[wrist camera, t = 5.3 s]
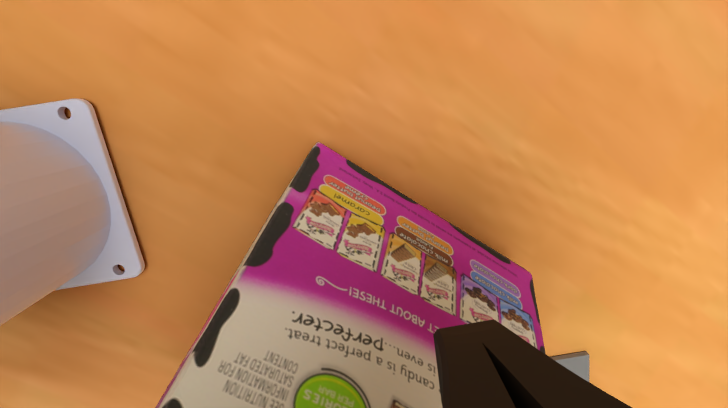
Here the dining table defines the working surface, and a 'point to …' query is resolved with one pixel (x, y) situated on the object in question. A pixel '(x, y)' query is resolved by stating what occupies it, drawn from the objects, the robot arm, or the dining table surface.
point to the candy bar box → (347, 301)
